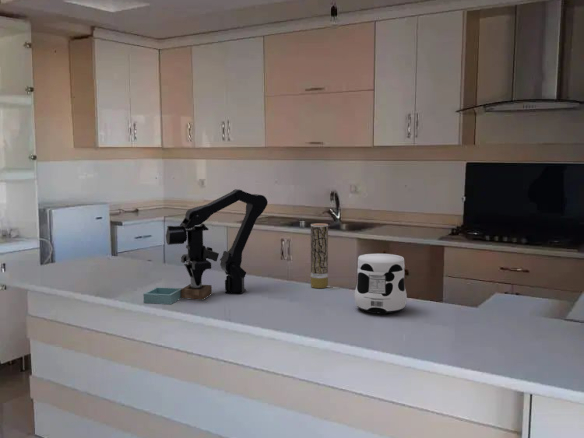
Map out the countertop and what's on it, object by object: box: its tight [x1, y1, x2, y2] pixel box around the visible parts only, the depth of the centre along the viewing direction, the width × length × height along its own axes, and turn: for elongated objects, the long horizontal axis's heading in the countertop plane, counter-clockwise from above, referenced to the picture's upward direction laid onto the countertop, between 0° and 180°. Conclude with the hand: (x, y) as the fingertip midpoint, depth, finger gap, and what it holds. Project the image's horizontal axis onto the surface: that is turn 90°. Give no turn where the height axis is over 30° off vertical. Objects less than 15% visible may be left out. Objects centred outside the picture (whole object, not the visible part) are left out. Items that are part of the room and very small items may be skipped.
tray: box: [143, 286, 182, 305], centre depth 205 cm, size 10×10×3 cm
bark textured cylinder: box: [310, 222, 329, 289], centre depth 224 cm, size 7×7×25 cm
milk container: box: [354, 253, 408, 314], centre depth 190 cm, size 17×17×18 cm
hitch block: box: [181, 283, 213, 300], centre depth 210 cm, size 9×9×4 cm
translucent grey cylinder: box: [190, 276, 203, 289], centre depth 210 cm, size 4×4×8 cm
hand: (196, 284), depth 210 cm, fingers closed on translucent grey cylinder, 4 cm apart
